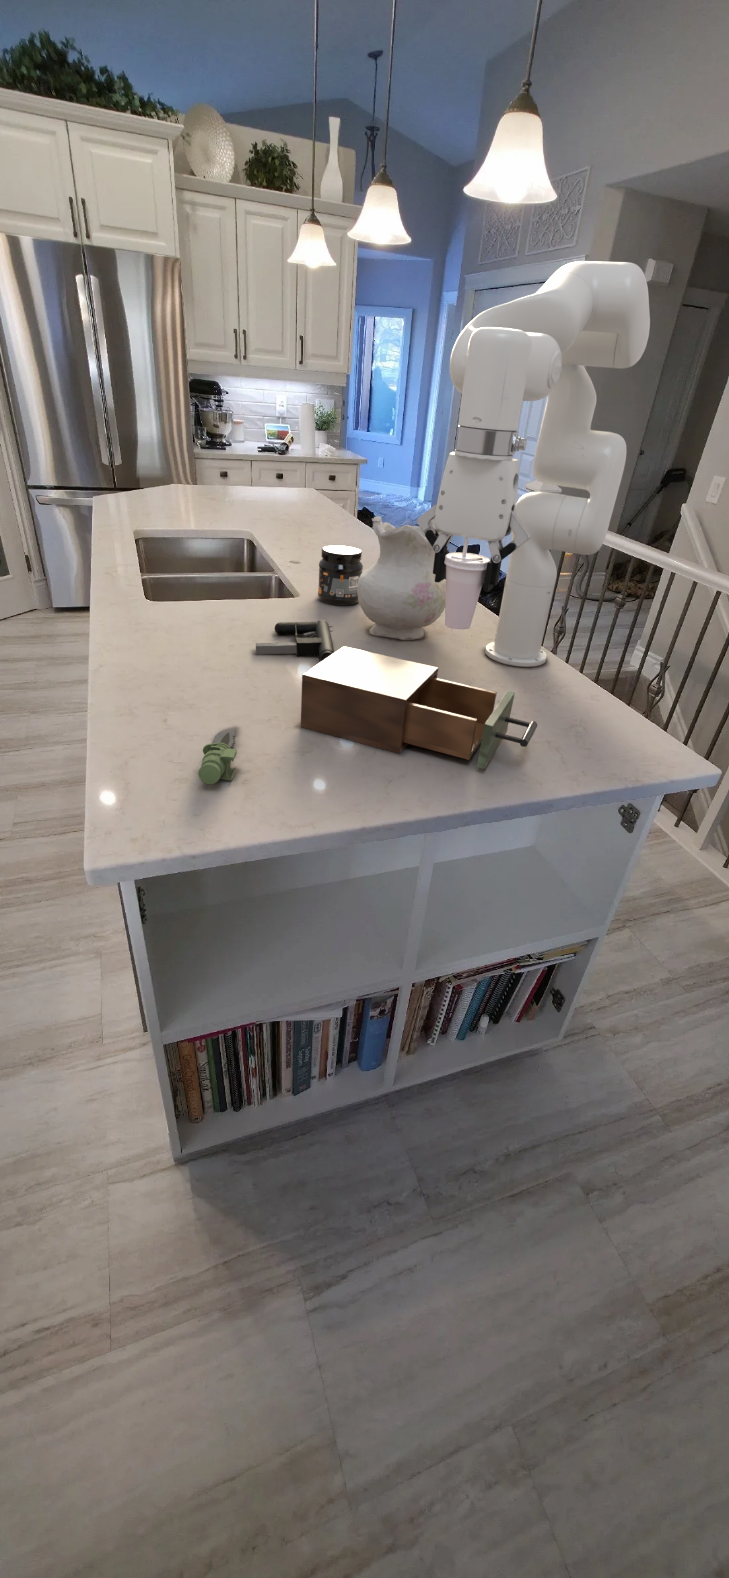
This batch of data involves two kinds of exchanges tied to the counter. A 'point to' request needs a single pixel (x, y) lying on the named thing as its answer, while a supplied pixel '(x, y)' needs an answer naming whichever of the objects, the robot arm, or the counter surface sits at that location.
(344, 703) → the cabinet
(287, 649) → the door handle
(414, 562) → the ceramic pitcher
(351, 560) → the supplement container
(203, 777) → the knife
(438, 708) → the drawer
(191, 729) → the counter surface
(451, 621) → the smoothie
